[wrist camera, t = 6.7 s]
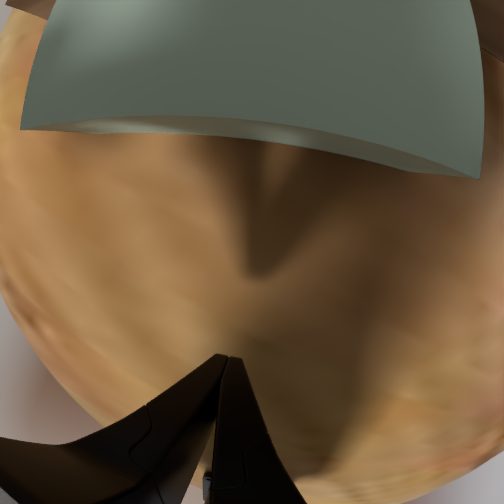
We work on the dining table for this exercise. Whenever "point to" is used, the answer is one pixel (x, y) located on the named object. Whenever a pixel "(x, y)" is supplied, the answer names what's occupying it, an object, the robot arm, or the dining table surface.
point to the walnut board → (483, 3)
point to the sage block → (271, 75)
